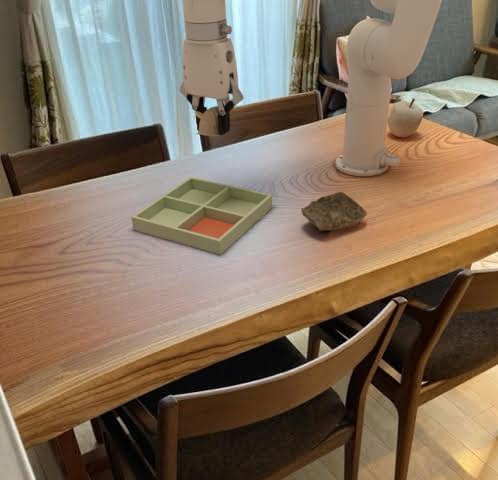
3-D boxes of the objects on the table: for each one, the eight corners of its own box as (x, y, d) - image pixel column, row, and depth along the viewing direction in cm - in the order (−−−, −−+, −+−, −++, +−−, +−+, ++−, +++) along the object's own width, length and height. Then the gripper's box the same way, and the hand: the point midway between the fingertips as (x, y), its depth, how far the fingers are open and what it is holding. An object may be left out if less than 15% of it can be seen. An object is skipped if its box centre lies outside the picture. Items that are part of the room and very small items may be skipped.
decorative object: (380, 132, 148) (385, 94, 141) (409, 128, 149) (415, 91, 143) (394, 144, 141) (400, 105, 135) (425, 140, 142) (432, 101, 136)
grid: (272, 207, 116) (272, 194, 114) (220, 254, 102) (219, 241, 100) (191, 188, 124) (190, 176, 122) (133, 229, 110) (131, 216, 109)
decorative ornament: (234, 131, 110) (233, 104, 107) (201, 141, 106) (198, 114, 103) (223, 126, 113) (221, 99, 109) (189, 136, 109) (187, 109, 105)
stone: (328, 238, 102) (312, 198, 101) (305, 247, 109) (290, 210, 108) (374, 218, 107) (359, 180, 107) (349, 228, 114) (335, 192, 114)
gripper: (256, 30, 96) (258, 131, 108) (180, 23, 103) (190, 119, 115) (234, 39, 92) (239, 144, 103) (156, 31, 99) (169, 130, 110)
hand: (213, 130), depth 109 cm, fingers closed on decorative ornament, 4 cm apart
